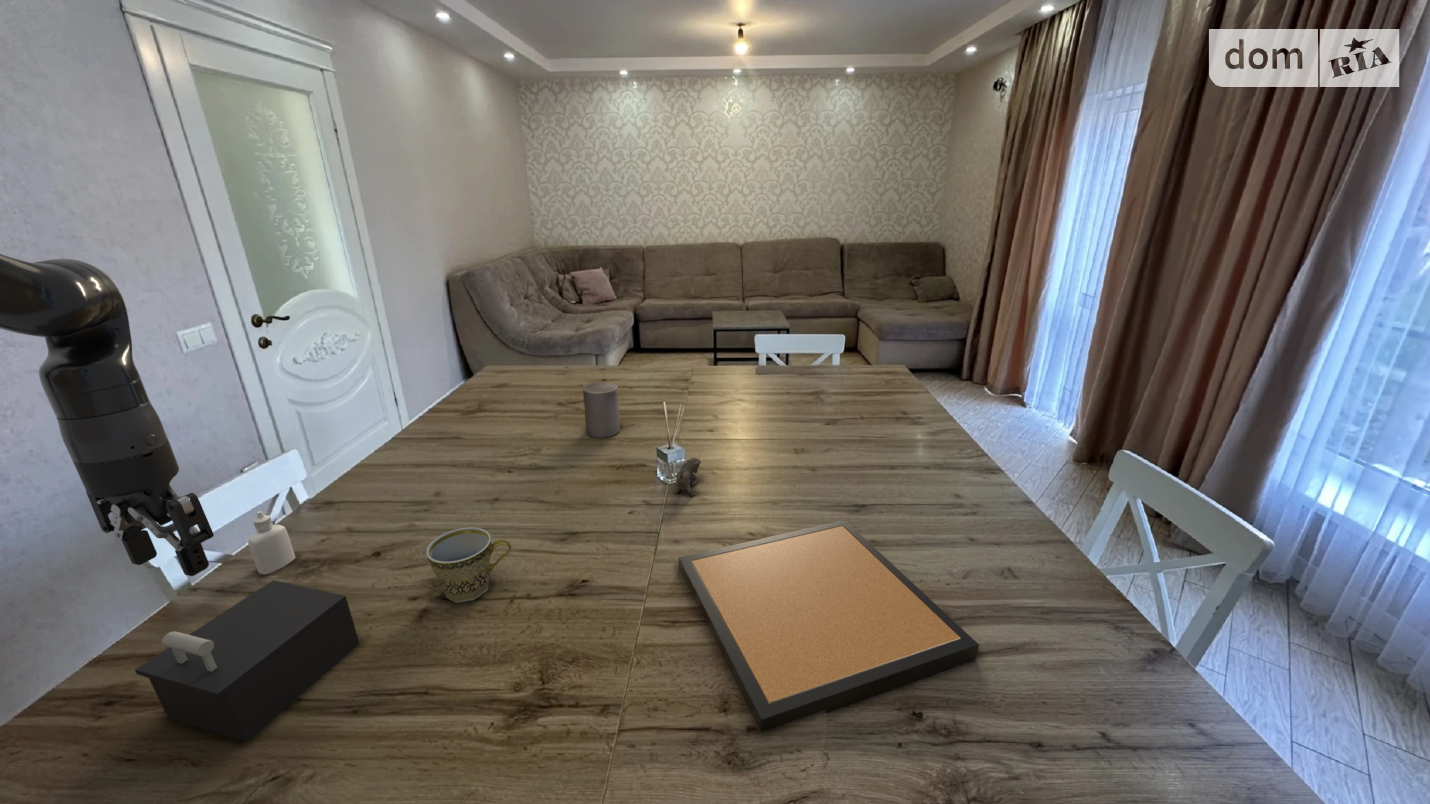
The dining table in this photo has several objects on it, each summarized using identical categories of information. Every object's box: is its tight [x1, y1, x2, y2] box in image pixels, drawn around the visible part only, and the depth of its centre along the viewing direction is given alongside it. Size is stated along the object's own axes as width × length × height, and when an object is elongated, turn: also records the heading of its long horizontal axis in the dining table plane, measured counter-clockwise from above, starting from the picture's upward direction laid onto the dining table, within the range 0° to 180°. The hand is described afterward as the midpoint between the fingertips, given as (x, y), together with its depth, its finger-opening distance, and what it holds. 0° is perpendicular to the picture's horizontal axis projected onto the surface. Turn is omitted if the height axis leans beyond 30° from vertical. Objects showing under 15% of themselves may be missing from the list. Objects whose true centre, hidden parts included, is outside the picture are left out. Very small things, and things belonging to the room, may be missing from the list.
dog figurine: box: [675, 457, 702, 497], centre depth 129 cm, size 12×6×7 cm, turn 168°
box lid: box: [134, 579, 348, 698], centre depth 74 cm, size 18×14×5 cm
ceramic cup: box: [425, 527, 512, 604], centre depth 94 cm, size 13×10×10 cm
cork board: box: [678, 519, 980, 733], centre depth 91 cm, size 36×3×35 cm
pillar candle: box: [582, 381, 621, 439], centre depth 158 cm, size 10×10×15 cm
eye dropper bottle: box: [247, 510, 296, 576], centre depth 100 cm, size 4×6×12 cm
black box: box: [148, 600, 360, 743], centre depth 77 cm, size 17×14×9 cm
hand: (171, 566), depth 67 cm, fingers open, 8 cm apart
